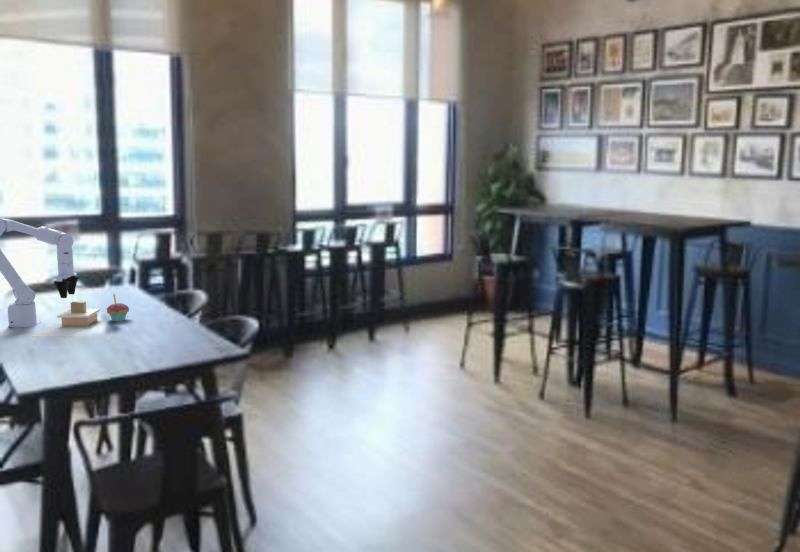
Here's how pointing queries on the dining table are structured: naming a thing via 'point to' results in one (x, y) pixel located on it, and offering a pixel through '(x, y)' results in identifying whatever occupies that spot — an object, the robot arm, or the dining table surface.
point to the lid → (78, 311)
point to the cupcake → (117, 311)
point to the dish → (79, 321)
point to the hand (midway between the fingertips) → (67, 296)
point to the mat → (58, 332)
